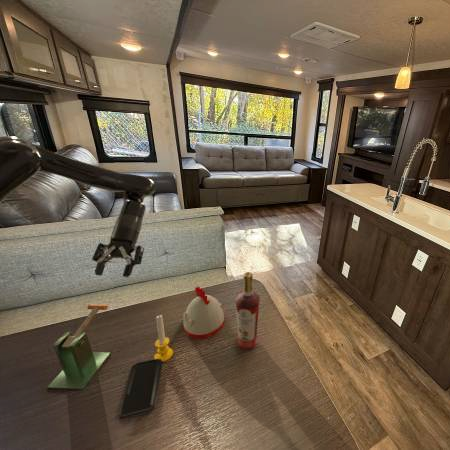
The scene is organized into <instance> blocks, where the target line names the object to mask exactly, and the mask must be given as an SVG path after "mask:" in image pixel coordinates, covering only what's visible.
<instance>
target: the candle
mask: <svg viewBox="0 0 450 450" xmlns="http://www.w3.org/2000/svg"><path fill="white" fill-rule="evenodd" d="M155 319H156V329H157V336H158V338H157V340H155V342H154V345H155V347H156V348H157V350H156V351H157V353H155V354H154V355H153V360H154V359H161V360H162V363H164V362H167V361H169V360H170V359H171V358H172V357H173V355H174V350H173V349H172V348H171V347H169V345H168V344H169V343H170V338H169V337H167V336H166V334H165V327H164V326H165V325H164V318H163V315H162V314H159V315H157V316H156V318H155Z"/></svg>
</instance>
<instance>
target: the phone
mask: <svg viewBox="0 0 450 450" xmlns="http://www.w3.org/2000/svg"><path fill="white" fill-rule="evenodd" d="M162 367H163V362H162V360H161V359H154V358H153V359H150V360H145V361H140V362H135V363H134V364H132V366H131V367H130V372H129V375H128V378H127V382H126V385H125V390H124V393H123V397H122V400H121V403H120V404H121V405H120V407H119V410H118V417H119V419H125V418H128V419H130V418H134V417H135V418H136V417H138V416H142V415H145V414H149V413H151V412H153V411H154V410H155V409H156V403H157V398H158V393H159V391H158V390H159V386H160V379H161V374H162Z"/></svg>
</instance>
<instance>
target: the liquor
mask: <svg viewBox="0 0 450 450" xmlns="http://www.w3.org/2000/svg"><path fill="white" fill-rule="evenodd" d="M242 275H243V277H242V279H243V280H242V281H243V290H242V292H241V293H239V294H238V295H237V296H236V297H235V306H236V307H235V311H236V320H237V321H236V322H237V340H236V343H237V346H238V347H239V348H241V349H243V350H249V349H253V348H254V347H255V346H257V344H258V341H259V340H258V339H259V338H258V321H259V313H260V311H259V310H260V296H259V294H257V293H256V292H254V291H253V284H252V283H253V273H252V272H250V271H246V272H244V273H243V274H242Z"/></svg>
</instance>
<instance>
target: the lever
mask: <svg viewBox="0 0 450 450" xmlns="http://www.w3.org/2000/svg"><path fill="white" fill-rule="evenodd" d="M108 308H109V305H107V304H92V303H90V304H88V305H87V307H86V309H87V310H91V311H90V312H89V314H88V316H87V317H86V318H85V320H84V321H83V322H82V323H81V325H80V326H79V328H78V329H77V330H76V332H75V333H74V334H73V335H72V336H69V337H68V338H67V340H66V341H65V342H64V344H63V345H62V346H61V347H62V348H63V349H65V350H66V351H71V350H70V347H69V345H70V344H71V343H72V342H73V341H74V340H75V339H76V338H77V337H78V336H79V335H80V334H81V333H82V332H83V333H85V331H86V329H87V328H88V326H89V325H90V323H91V322H92V320H93V319H94V318H95V316H96V315H97V313H98V312H99V311H107V310H108Z"/></svg>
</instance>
